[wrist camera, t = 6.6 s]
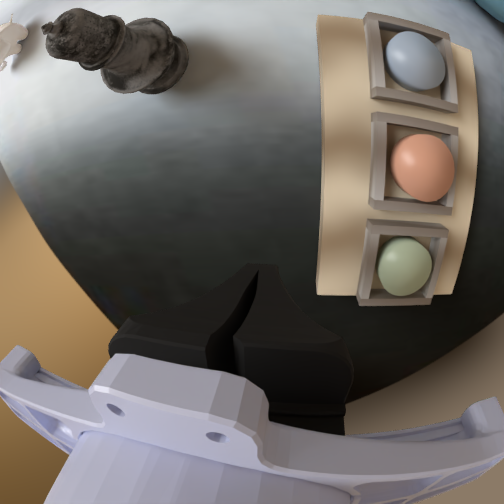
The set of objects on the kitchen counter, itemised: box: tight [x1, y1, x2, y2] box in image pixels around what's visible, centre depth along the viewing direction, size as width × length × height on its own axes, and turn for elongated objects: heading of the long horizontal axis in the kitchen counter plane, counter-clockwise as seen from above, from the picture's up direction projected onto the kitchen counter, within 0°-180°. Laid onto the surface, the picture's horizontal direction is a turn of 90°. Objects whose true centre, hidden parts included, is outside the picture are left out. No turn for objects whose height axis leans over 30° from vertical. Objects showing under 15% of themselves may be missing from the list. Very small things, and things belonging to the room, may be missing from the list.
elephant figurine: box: [0, 14, 28, 72], centre depth 12 cm, size 7×8×6 cm
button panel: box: [316, 12, 478, 306], centre depth 15 cm, size 20×12×3 cm, turn 2°
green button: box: [375, 235, 432, 296], centre depth 17 cm, size 4×4×2 cm
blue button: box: [383, 31, 445, 92], centre depth 11 cm, size 4×4×2 cm
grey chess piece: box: [41, 8, 188, 94], centre depth 11 cm, size 6×6×12 cm
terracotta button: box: [390, 134, 455, 202], centre depth 13 cm, size 4×4×2 cm
